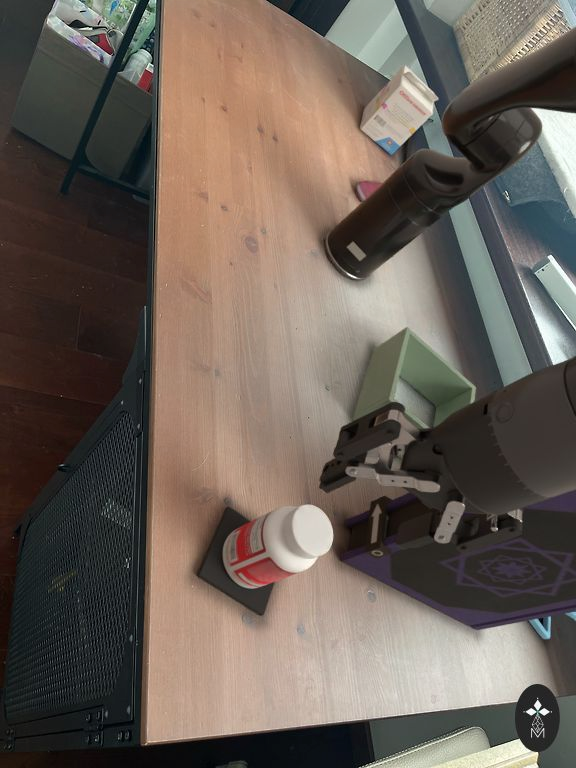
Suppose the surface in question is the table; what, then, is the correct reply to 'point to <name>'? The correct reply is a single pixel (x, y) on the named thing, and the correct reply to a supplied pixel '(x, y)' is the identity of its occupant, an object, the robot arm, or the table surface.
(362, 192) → the eraser
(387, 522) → the book
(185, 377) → the table surface
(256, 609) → the mat
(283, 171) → the table surface
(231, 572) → the pill bottle
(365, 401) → the green open box
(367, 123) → the ink box
